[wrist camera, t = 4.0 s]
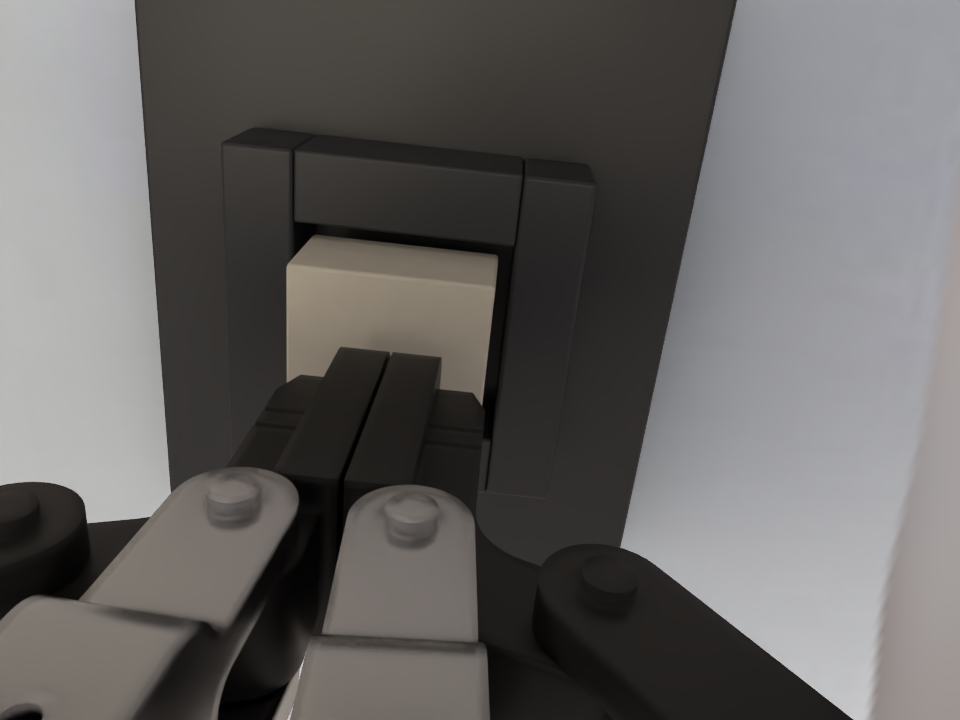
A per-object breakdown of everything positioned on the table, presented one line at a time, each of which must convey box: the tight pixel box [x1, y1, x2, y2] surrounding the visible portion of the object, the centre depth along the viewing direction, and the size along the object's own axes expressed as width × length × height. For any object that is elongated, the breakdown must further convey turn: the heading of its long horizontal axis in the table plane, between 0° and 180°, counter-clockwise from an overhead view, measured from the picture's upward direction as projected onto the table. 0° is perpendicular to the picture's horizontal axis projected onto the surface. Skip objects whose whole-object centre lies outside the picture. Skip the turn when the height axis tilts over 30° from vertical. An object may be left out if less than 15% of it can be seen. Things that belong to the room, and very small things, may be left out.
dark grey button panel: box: [135, 0, 737, 566], centre depth 15 cm, size 12×10×3 cm
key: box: [286, 235, 498, 405], centre depth 14 cm, size 3×3×2 cm
